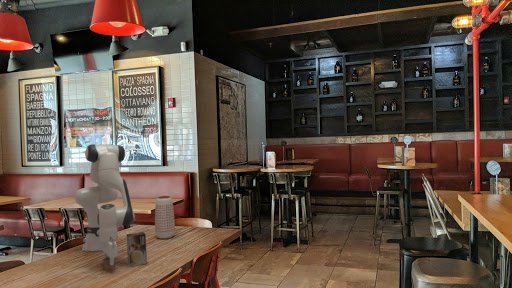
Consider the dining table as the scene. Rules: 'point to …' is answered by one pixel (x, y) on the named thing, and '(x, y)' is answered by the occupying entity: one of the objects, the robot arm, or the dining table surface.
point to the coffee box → (136, 249)
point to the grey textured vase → (164, 217)
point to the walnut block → (107, 264)
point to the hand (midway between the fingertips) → (109, 262)
